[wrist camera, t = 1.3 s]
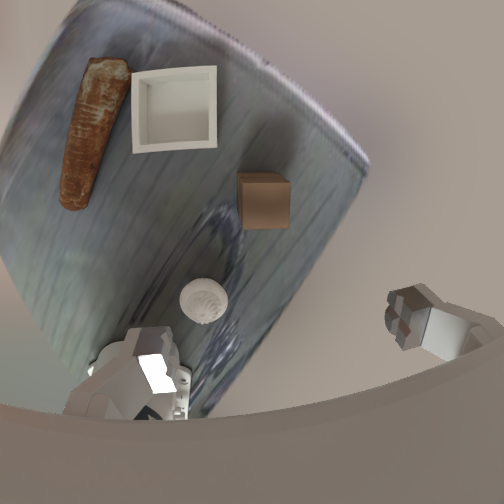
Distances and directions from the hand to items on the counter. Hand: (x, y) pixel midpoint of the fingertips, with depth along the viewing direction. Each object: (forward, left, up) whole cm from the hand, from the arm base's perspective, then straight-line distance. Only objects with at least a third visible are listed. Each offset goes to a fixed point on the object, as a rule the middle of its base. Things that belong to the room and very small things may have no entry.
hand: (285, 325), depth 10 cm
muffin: (-14, +5, -28) cm, 31 cm away
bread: (+7, +17, -28) cm, 33 cm away
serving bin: (+9, +7, -27) cm, 30 cm away
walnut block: (-1, -2, -28) cm, 28 cm away
